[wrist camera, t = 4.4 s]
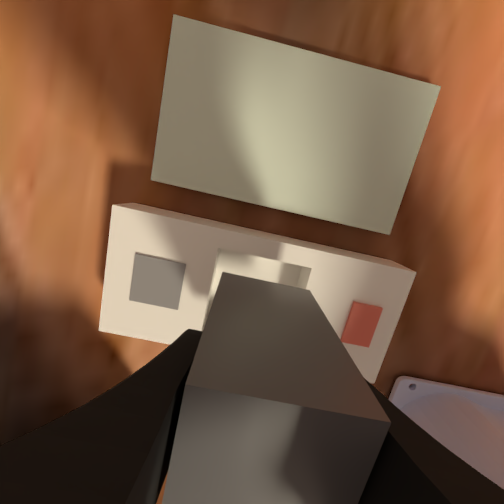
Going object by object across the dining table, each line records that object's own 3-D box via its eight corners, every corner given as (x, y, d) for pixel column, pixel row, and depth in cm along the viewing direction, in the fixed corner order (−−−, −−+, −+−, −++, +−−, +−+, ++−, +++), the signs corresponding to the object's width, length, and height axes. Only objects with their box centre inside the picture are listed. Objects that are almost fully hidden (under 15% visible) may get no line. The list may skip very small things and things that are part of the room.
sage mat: (433, 90, 14) (441, 86, 14) (384, 233, 16) (389, 234, 15) (176, 21, 13) (173, 14, 13) (154, 180, 15) (150, 180, 15)
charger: (309, 290, 12) (391, 422, 5) (287, 366, 13) (331, 566, 6) (222, 271, 12) (185, 384, 5) (206, 350, 13) (154, 540, 6)
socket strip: (391, 260, 16) (419, 273, 14) (357, 357, 18) (375, 386, 15) (133, 202, 15) (110, 204, 13) (120, 310, 17) (96, 332, 14)
